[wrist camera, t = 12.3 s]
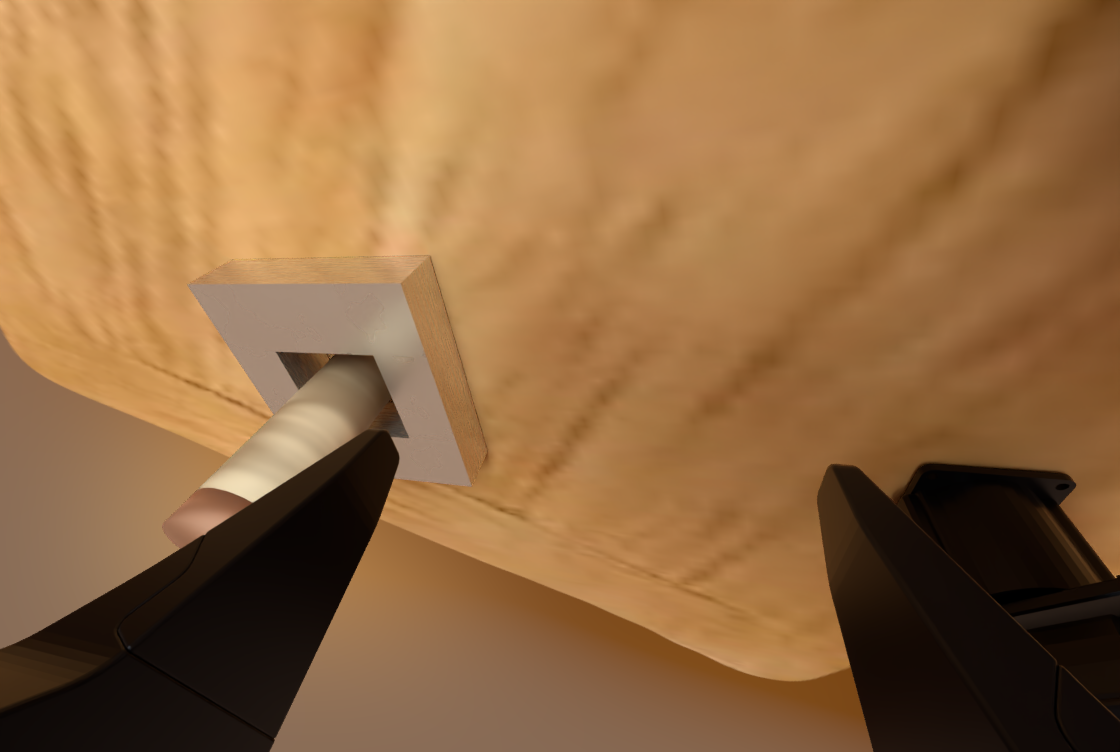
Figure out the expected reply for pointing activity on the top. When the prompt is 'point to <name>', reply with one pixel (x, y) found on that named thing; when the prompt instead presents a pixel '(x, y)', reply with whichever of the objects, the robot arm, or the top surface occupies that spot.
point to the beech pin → (287, 443)
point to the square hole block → (355, 346)
